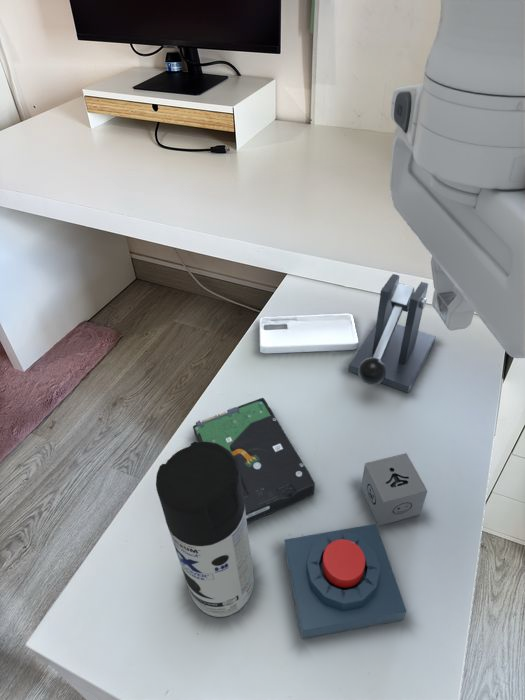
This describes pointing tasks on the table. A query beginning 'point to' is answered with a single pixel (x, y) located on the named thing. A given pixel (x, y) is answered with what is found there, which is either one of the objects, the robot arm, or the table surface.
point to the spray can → (208, 525)
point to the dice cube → (393, 489)
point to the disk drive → (259, 457)
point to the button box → (336, 602)
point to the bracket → (398, 339)
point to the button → (343, 563)
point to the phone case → (309, 334)
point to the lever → (386, 337)
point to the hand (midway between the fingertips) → (449, 317)
